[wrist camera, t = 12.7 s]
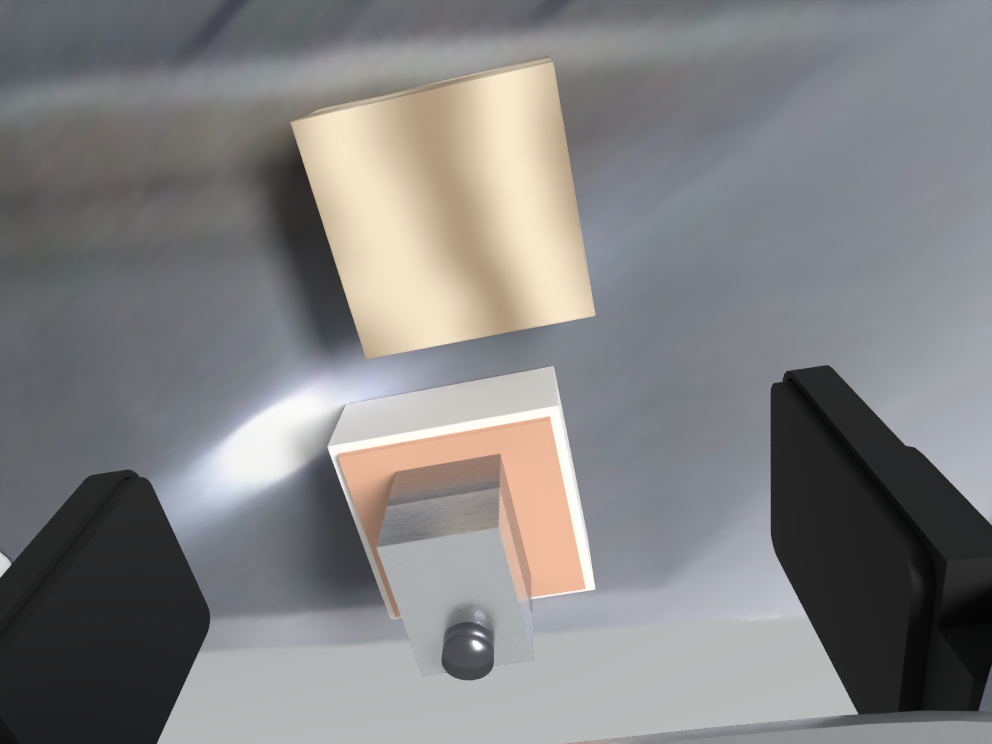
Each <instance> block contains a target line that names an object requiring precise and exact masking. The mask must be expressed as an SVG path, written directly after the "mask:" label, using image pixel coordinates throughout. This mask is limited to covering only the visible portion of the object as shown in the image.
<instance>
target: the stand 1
mask: <svg viewBox="0 0 992 744" xmlns="http://www.w3.org/2000/svg"><path fill="white" fill-rule="evenodd" d="M291 125H292V128H293V131H294V135H295V138H296V141H297V144H298V147H299V150H300V153H301V157H302V160H303V163H304V166H305V169H306V172H307V175H308V178H309V182H310V185H311V188H312V191H313V194H314V197H315V200H316V203H317V207H318V210H319V213H320V216H321V219H322V222H323V225H324V229H325V232H326V235H327V238H328V241H329V244H330V247H331V250H332V254H333V257H334V260H335V263H336V266H337V269H338V272H339V275H340V279H341V282H342V285H343V288H344V291H345V294H346V297H347V301H348V304H349V307H350V310H351V313H352V316H353V319H354V322H355V326H356V329H357V332H358V335H359V338H360V341H361V344H362V347H363V351H364V354H365V357H366V359H371V358H376V357H381V356H386V355H392V354H397V353H402V352H407V351H413V350H418V349H423V348H428V347H434V346H439V345H444V344H449V343H455V342H460V341H465V340H470V339H476V338H481V337H486V336H491V335H497V334H502V333H507V332H512V331H518V330H523V329H528V328H533V327H539V326H544V325H549V324H554V323H560V322H565V321H570V320H575V319H581V318H586V317H591V316H595V311H594V305H593V299H592V293H591V287H590V281H589V275H588V269H587V263H586V257H585V251H584V245H583V239H582V233H581V227H580V221H579V215H578V209H577V203H576V197H575V191H574V185H573V179H572V173H571V167H570V161H569V155H568V149H567V143H566V137H565V131H564V125H563V119H562V113H561V107H560V101H559V95H558V89H557V83H556V77H555V71H554V65H553V61H552V60H551V59H550V58H549V57H544V58H539V59H535V60H531V61H526V62H522V63H518V64H513V65H509V66H505V67H500V68H496V69H492V70H487V71H483V72H479V73H474V74H470V75H466V76H461V77H457V78H453V79H448V80H444V81H440V82H435V83H431V84H427V85H422V86H418V87H414V88H409V89H405V90H401V91H396V92H392V93H388V94H383V95H379V96H375V97H370V98H366V99H362V100H357V101H353V102H349V103H345V104H340V105H336V106H332V107H327V108H323V109H319V110H317V111H315V112H312V113H310V114H308V115H306V116H303V117H301V118H299V119H297V120H294V121H292V122H291Z"/></svg>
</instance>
